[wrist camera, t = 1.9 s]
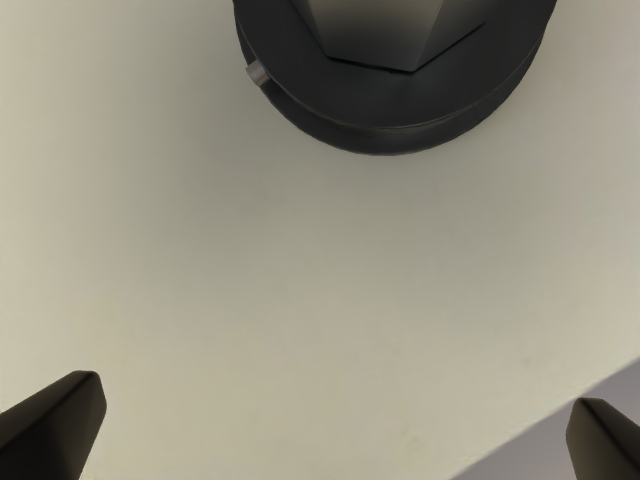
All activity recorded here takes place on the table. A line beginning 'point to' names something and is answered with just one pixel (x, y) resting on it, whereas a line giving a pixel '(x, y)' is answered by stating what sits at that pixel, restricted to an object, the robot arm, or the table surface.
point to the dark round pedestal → (388, 79)
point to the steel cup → (392, 28)
